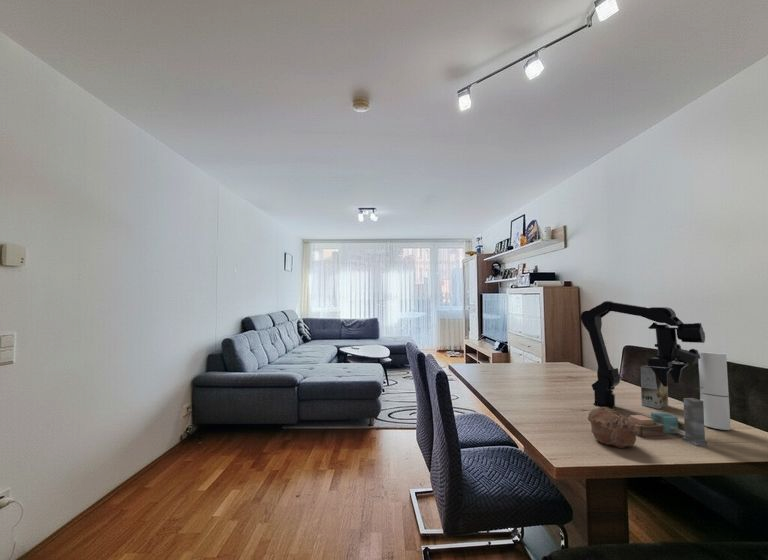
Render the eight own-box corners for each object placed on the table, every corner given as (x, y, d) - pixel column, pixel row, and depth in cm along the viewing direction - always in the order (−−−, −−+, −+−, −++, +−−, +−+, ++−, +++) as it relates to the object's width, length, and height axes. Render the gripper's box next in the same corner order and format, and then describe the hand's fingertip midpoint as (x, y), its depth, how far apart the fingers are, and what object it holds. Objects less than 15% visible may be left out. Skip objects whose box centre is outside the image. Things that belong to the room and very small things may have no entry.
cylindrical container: (722, 425, 118) (718, 353, 121) (735, 431, 112) (731, 354, 115) (697, 422, 121) (693, 351, 124) (708, 427, 114) (704, 352, 117)
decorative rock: (581, 434, 109) (580, 403, 110) (614, 433, 110) (613, 402, 111) (611, 453, 96) (610, 417, 97) (648, 452, 97) (647, 416, 98)
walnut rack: (619, 427, 115) (619, 418, 116) (668, 425, 118) (667, 416, 118) (638, 436, 108) (638, 427, 108) (690, 434, 110) (690, 425, 110)
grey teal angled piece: (651, 427, 116) (649, 389, 116) (664, 427, 116) (662, 388, 117) (694, 445, 101) (692, 401, 102) (709, 445, 102) (707, 401, 103)
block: (629, 428, 115) (629, 415, 115) (641, 428, 115) (641, 415, 115) (641, 434, 110) (640, 420, 110) (653, 433, 111) (653, 419, 111)
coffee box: (659, 409, 135) (658, 368, 136) (641, 405, 140) (639, 366, 141) (668, 405, 140) (667, 366, 141) (650, 401, 145) (649, 364, 146)
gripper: (683, 344, 113) (688, 392, 111) (705, 341, 122) (710, 385, 120) (644, 342, 123) (648, 386, 121) (668, 339, 132) (672, 380, 130)
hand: (671, 384), depth 123 cm, fingers open, 9 cm apart
